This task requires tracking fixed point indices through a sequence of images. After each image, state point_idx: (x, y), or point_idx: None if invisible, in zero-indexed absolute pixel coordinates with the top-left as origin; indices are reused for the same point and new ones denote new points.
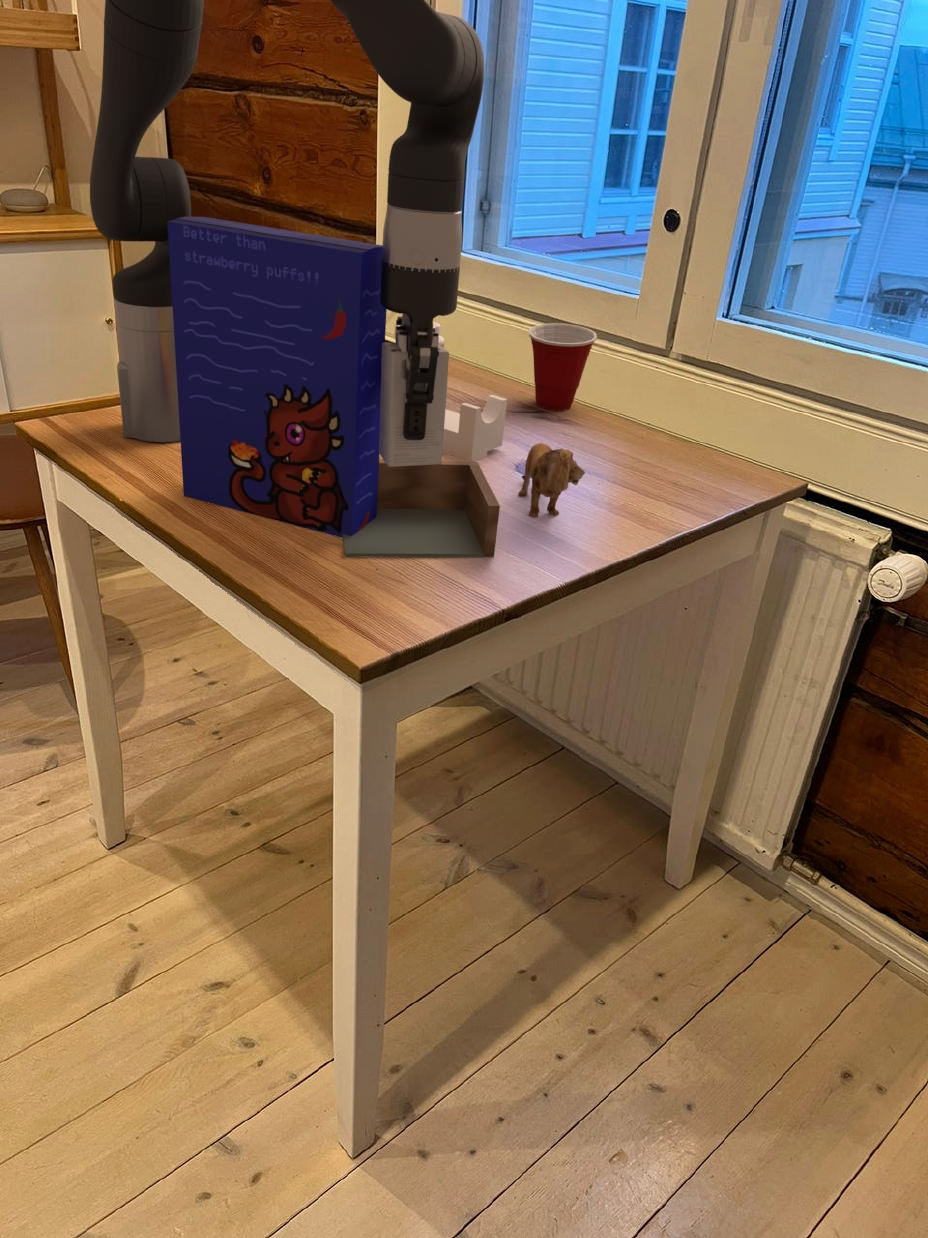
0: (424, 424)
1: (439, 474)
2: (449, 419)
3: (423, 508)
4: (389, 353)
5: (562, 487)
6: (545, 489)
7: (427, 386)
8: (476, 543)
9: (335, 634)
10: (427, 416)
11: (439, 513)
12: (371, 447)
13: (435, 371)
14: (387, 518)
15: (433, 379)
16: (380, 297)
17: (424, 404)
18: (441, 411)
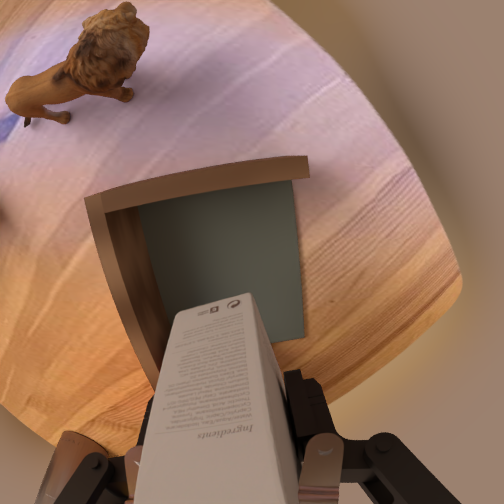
0: (306, 394)
1: (126, 259)
2: None
3: (149, 258)
4: None
5: (148, 38)
6: (135, 68)
7: (379, 477)
8: None
9: (433, 315)
10: (280, 402)
11: (158, 235)
12: None
13: (452, 495)
14: (194, 302)
15: (436, 481)
16: None
17: (347, 439)
18: (269, 387)
